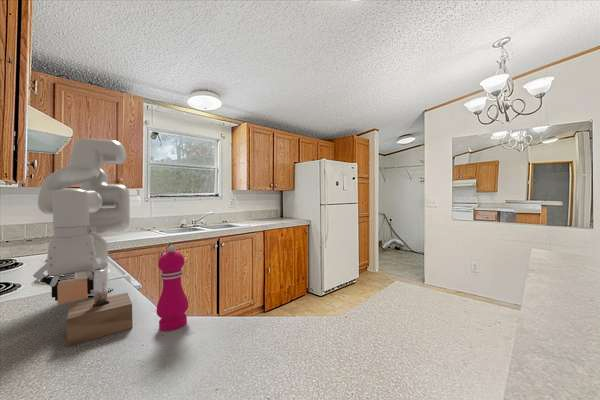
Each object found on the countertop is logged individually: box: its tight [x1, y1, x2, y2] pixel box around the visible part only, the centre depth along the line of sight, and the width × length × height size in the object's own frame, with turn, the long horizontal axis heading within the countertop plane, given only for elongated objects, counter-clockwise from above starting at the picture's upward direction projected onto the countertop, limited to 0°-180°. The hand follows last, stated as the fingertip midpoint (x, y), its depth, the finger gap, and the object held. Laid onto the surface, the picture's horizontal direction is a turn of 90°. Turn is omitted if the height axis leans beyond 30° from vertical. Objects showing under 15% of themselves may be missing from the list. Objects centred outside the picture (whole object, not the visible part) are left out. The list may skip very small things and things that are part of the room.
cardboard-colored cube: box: [57, 276, 89, 306], centre depth 70 cm, size 6×6×5 cm
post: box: [93, 269, 108, 307], centre depth 63 cm, size 3×3×9 cm
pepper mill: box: [155, 245, 189, 332], centre depth 63 cm, size 7×7×20 cm
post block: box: [66, 292, 134, 347], centre depth 63 cm, size 12×12×6 cm
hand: (73, 295), depth 70 cm, fingers closed on cardboard-colored cube, 6 cm apart
